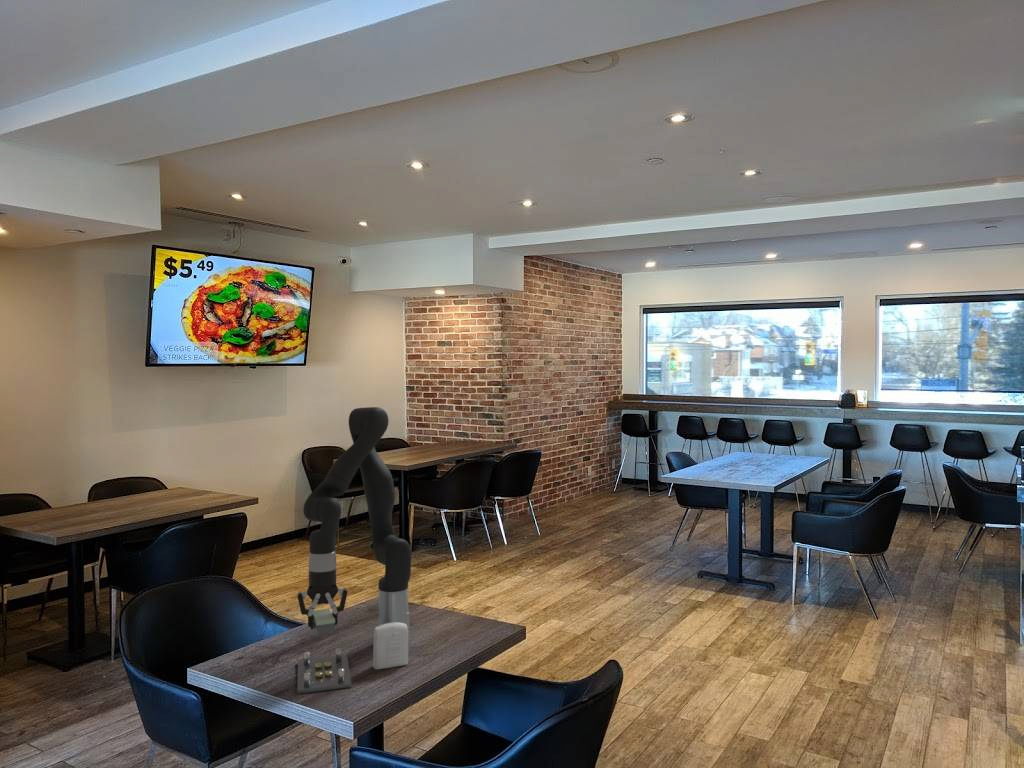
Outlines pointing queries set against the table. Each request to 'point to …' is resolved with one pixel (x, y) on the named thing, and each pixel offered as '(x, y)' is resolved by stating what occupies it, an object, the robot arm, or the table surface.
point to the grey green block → (323, 622)
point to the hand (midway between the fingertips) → (322, 627)
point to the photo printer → (390, 645)
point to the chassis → (323, 673)
